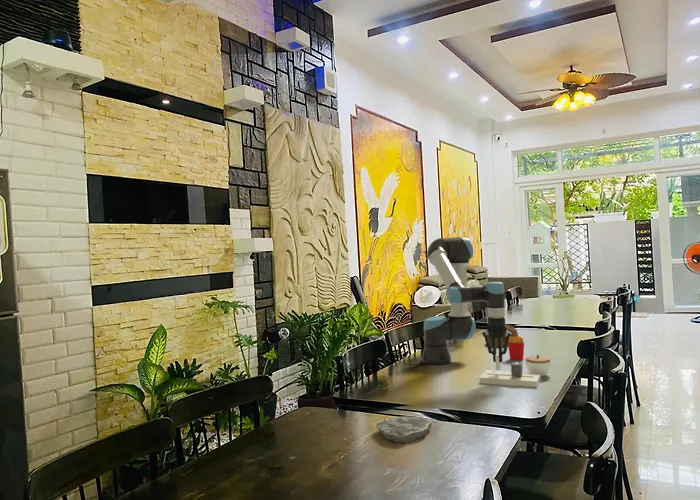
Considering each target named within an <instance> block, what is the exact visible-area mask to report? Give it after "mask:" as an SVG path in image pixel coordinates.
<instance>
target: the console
mask: <svg viewBox="0 0 700 500" xmlns="http://www.w3.org/2000/svg"><path fill="white" fill-rule="evenodd" d="M541 379H542V377H541V374H540V373H530V372H524V371H523V374H522V376H521V377H520V376H512V374H511V371H508V370H507V371H505V370H490V369H486V370H484V372H483V373H482V374H481V375H480V376H479V384H487V385H496V386H497V385H499V386H500V385H501V386H512V387H528V388H538V387H539V384H540V382H541Z"/></svg>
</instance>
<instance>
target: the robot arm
mask: <svg viewBox="0 0 700 500" xmlns="http://www.w3.org/2000/svg"><path fill="white" fill-rule="evenodd" d="M426 255H427V259H428V261H429V263H430V264H431V265H432V266H434V268H435V270H436V272H437V273H438V275H439V276H440V278H441V281H442V282H443V284H444V286H445V288H446V290H445V297H446V301H447V302H448V303H449V304H450V312H449V313H448V318H447V317H446V316H444V315H435V316H431V317H428V318H426V319H425V320H424V321H423V336H424V338H423V341H424V347H423V348H424V349H423V352H422V357H421V363H422V364H425V365H430V366H431V365H433V366H435V365H436V366H437V365H438V366H439V365H448V364H450V363H451V362H452V356H451V354H450V350H449V349H448V342H450V341H465V340H470V339H472V338H473V337H474V335H475V333H476V322H475V318H474V317H472V315H471V313H470V312H469V311H468V309H469V307H468V303H477V302H486V305H487V308H486V309H487V316H488V317H487V327H486V330H483V332H481V335H482V336H483V338H484V341H485V343H486V344H485V345H486V347H487V351H488V353H489V354H491V355H492V360H493V363H495V371H501V363H503V355H506V353H507V351H508V343H509V338H510V336H511V335H512V333H511V332H508V331H507V329H506V327H505V324H506V318H505V316H506V311H505V310H506V309H505V308H506V306H505V286H504V282H502V281H488V282H487V283H486V284H484V283H483V284H482V283H481V284H478V285H477V284H476V285H468V282H467V281H468V278H467V277H468V276H467V266H468V264H470V260H471V259H472V258H473V257H474V256H473V255H474V249H473V244H472V242H471V240H470V239H469V238H468V237H464V236H461V237H459V236H458V237H457V236H455V237H440V238H436V239H435V240H433V241H432V242H431V243H430V244H429V246H428V248H427V252H426ZM488 333H489V334H490V335H491V336H492V346H491V344H490V341H489V337H488ZM505 333H506V336H507V337H506V340H505V345H504V346H502V336H503V335H504V334H505ZM496 337H497V338H498V347H496ZM497 348H498V353H497Z"/></svg>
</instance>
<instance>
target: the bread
mask: <svg viewBox="0 0 700 500" xmlns="http://www.w3.org/2000/svg"><path fill="white" fill-rule="evenodd" d="M505 327H506V329H507V331H508V332H511V333H512V335H511V336H512V337H514V336H515V337H519V334H518V330H517V329H516V328H515V327H514V326H513V325H510V324H509V323H508V324H507V323H505ZM488 337H489V341H490V344H491V347H493V346H492V336H491V335H490V334H489V333H488ZM506 337H507V336H506V333H505V334H504V335H503V336H502V347H504V345H505V340H506ZM496 348H498V338H497V337H496Z"/></svg>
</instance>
